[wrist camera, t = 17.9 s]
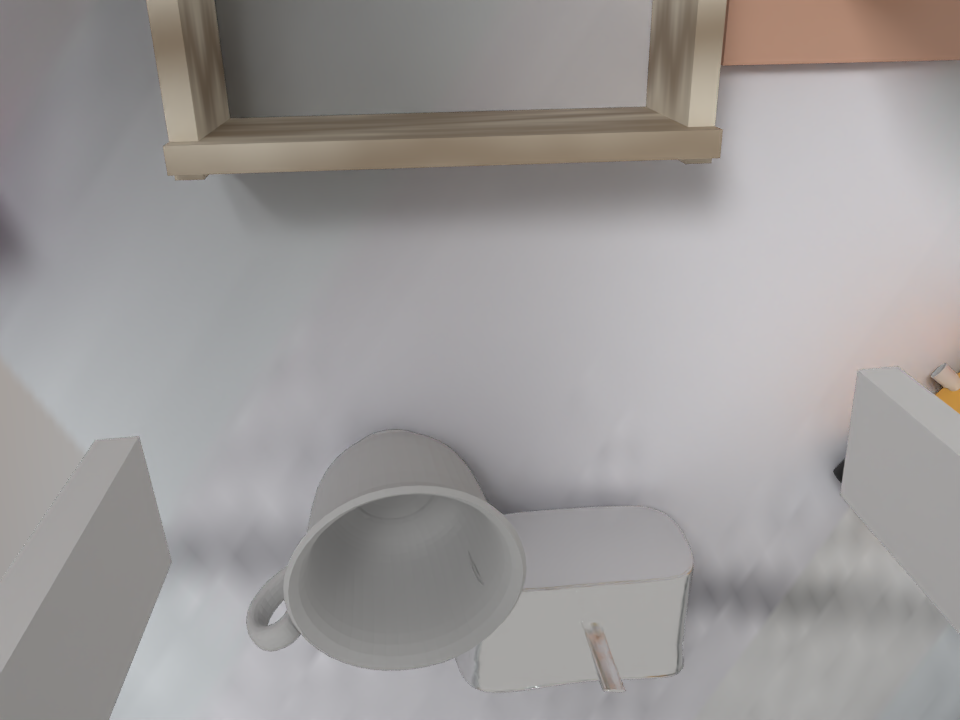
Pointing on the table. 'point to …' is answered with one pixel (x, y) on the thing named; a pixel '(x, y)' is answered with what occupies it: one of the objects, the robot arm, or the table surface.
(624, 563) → the vr headset
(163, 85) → the birch rack
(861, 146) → the table surface
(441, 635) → the teacup
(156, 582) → the robot arm
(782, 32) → the pad
